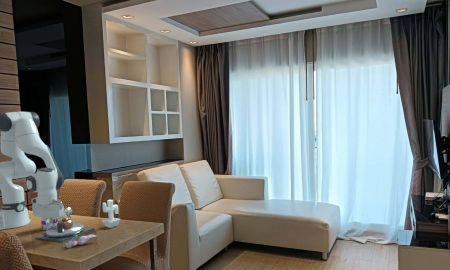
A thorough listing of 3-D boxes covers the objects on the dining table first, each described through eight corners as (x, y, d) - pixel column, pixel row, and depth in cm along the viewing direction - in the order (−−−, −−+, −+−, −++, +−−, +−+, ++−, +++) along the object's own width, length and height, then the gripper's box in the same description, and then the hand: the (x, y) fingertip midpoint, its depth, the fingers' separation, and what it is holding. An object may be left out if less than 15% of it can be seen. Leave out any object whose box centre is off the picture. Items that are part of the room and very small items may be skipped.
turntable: (41, 238, 166) (40, 225, 166) (53, 228, 184) (52, 215, 184) (78, 235, 169) (78, 221, 169) (87, 225, 187) (86, 212, 187)
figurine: (122, 224, 188) (121, 198, 188) (108, 229, 181) (107, 202, 180) (114, 223, 192) (112, 197, 192) (100, 227, 185) (98, 201, 184)
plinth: (35, 238, 172) (35, 236, 172) (68, 226, 190) (68, 225, 190) (62, 242, 163) (62, 240, 163) (94, 229, 181) (94, 228, 181)
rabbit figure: (64, 253, 152) (98, 241, 159) (61, 241, 151) (95, 229, 159) (63, 249, 157) (95, 237, 165) (60, 237, 156) (93, 226, 164)
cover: (56, 230, 172) (55, 220, 172) (60, 226, 179) (59, 217, 179) (70, 229, 173) (70, 219, 173) (74, 225, 180) (73, 216, 180)
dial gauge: (62, 227, 185) (61, 208, 185) (70, 224, 190) (69, 206, 190) (68, 228, 183) (67, 209, 183) (76, 225, 188) (75, 206, 188)
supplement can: (51, 230, 184) (49, 203, 184) (38, 230, 186) (36, 204, 186) (61, 226, 192) (59, 200, 192) (48, 226, 194) (47, 200, 194)
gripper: (67, 199, 170) (68, 225, 170) (40, 196, 178) (41, 222, 179) (56, 201, 164) (57, 229, 164) (29, 199, 172) (30, 225, 173)
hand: (49, 225), depth 172 cm, fingers closed
